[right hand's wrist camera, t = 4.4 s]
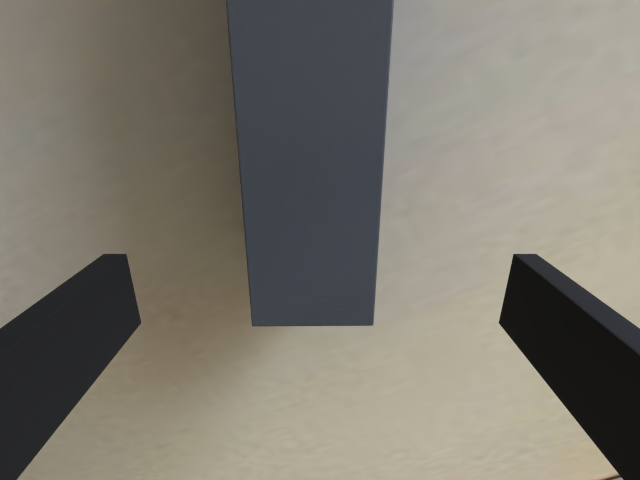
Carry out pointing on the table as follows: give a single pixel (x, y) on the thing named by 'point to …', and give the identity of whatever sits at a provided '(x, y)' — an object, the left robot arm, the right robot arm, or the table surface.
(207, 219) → the table surface
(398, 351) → the table surface
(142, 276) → the table surface
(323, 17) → the bar
